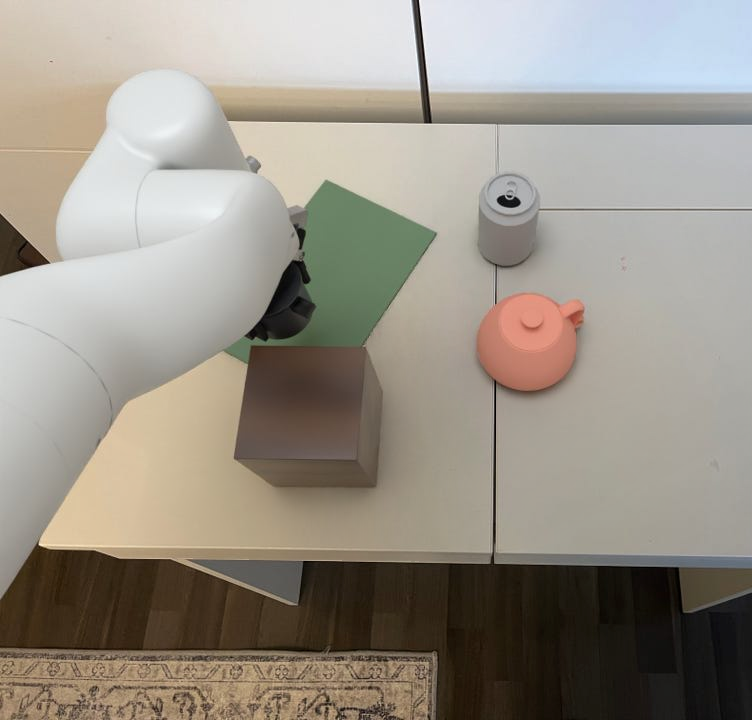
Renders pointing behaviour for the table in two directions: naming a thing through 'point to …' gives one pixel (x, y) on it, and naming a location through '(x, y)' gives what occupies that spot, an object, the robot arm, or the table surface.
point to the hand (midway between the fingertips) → (277, 304)
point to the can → (507, 218)
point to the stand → (310, 417)
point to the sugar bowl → (529, 340)
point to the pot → (288, 306)
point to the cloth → (350, 268)
